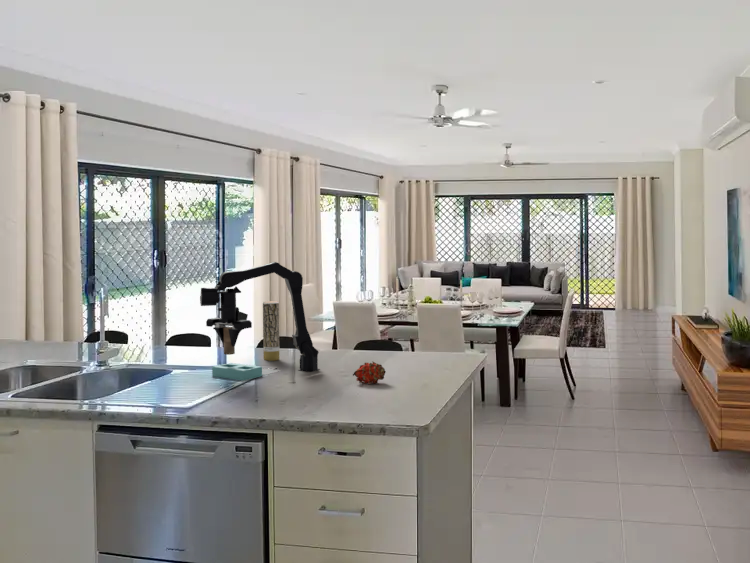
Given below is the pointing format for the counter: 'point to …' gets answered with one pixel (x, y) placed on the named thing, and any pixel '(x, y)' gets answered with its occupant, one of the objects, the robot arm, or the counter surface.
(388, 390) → the counter surface
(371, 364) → the dragon fruit
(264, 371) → the rubber mat
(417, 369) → the counter surface
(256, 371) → the hole block
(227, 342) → the walnut peg
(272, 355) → the paper tube
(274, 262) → the robot arm
